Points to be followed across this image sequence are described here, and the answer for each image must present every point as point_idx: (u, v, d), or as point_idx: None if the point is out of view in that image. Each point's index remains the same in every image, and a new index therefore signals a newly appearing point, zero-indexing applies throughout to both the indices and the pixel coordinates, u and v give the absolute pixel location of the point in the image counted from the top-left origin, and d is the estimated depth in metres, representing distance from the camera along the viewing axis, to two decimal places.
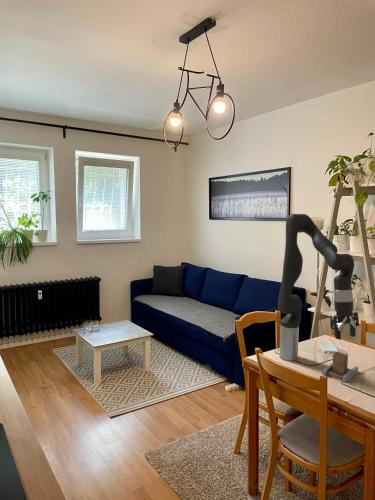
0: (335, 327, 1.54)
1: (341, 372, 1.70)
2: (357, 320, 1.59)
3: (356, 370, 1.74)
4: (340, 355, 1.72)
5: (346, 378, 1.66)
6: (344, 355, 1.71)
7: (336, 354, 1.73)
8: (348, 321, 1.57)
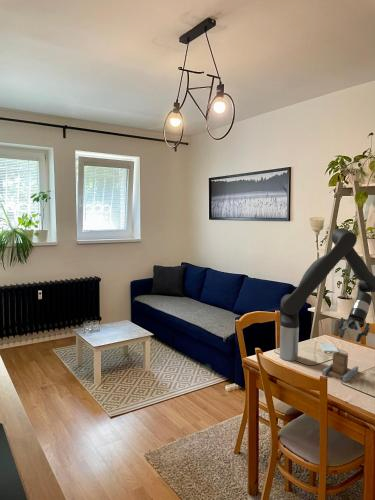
0: None
1: (341, 372, 1.70)
2: None
3: (356, 370, 1.74)
4: (340, 355, 1.72)
5: (346, 378, 1.66)
6: (344, 355, 1.71)
7: (336, 354, 1.73)
8: None
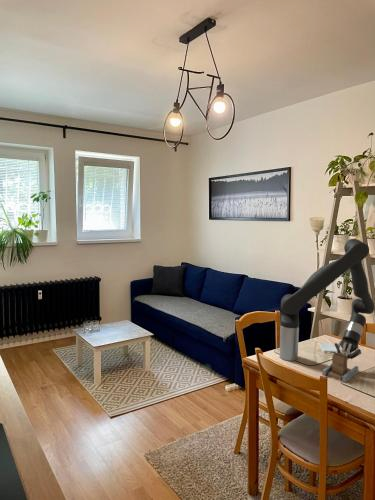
0: None
1: (341, 372, 1.69)
2: None
3: (356, 370, 1.74)
4: (339, 355, 1.71)
5: (346, 378, 1.66)
6: (344, 355, 1.71)
7: (336, 354, 1.72)
8: None
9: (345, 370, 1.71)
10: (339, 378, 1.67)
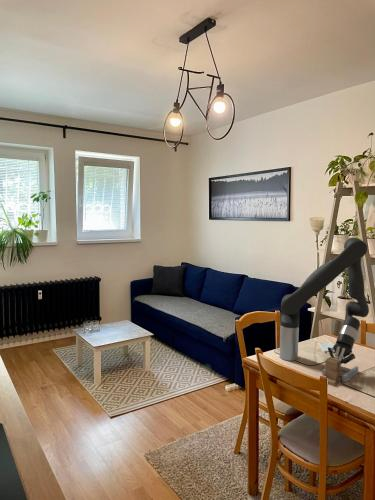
0: None
1: (334, 378, 1.64)
2: None
3: (356, 370, 1.74)
4: (332, 360, 1.65)
5: (346, 378, 1.66)
6: (337, 360, 1.65)
7: (329, 359, 1.66)
8: None
9: (338, 375, 1.65)
10: (332, 384, 1.61)
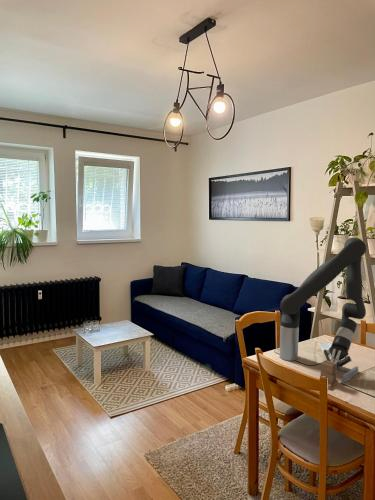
0: None
1: (329, 381, 1.60)
2: None
3: (356, 370, 1.74)
4: (328, 363, 1.62)
5: (346, 378, 1.66)
6: (333, 363, 1.62)
7: (324, 362, 1.63)
8: None
9: (334, 379, 1.62)
10: None
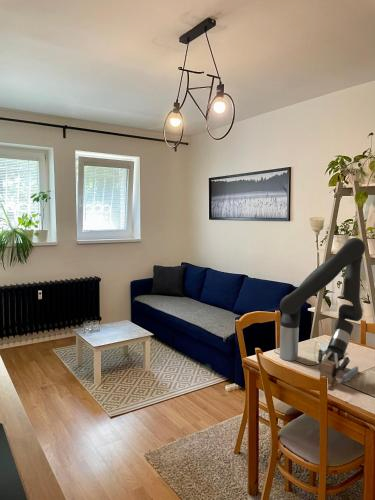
0: None
1: (329, 381, 1.60)
2: None
3: (356, 370, 1.74)
4: (328, 363, 1.62)
5: (346, 378, 1.66)
6: (332, 363, 1.62)
7: (324, 362, 1.63)
8: None
9: (334, 379, 1.62)
10: None
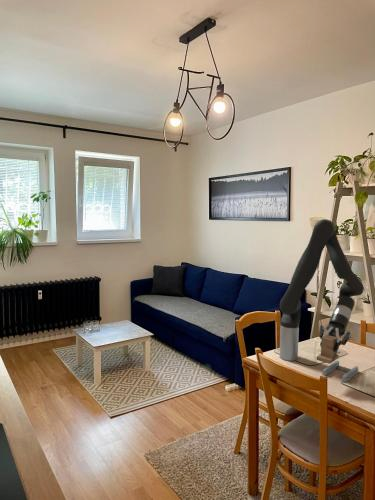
0: None
1: (330, 356, 1.59)
2: None
3: (356, 370, 1.74)
4: (329, 337, 1.61)
5: (346, 378, 1.66)
6: (333, 338, 1.61)
7: (325, 337, 1.62)
8: None
9: (335, 353, 1.61)
10: (328, 361, 1.57)
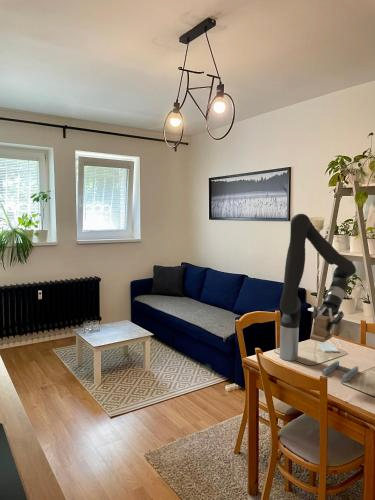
0: None
1: (323, 335, 1.62)
2: None
3: (356, 370, 1.74)
4: (322, 317, 1.64)
5: (346, 378, 1.66)
6: (327, 317, 1.64)
7: (318, 317, 1.65)
8: None
9: (328, 333, 1.64)
10: (321, 340, 1.60)
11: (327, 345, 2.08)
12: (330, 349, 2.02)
